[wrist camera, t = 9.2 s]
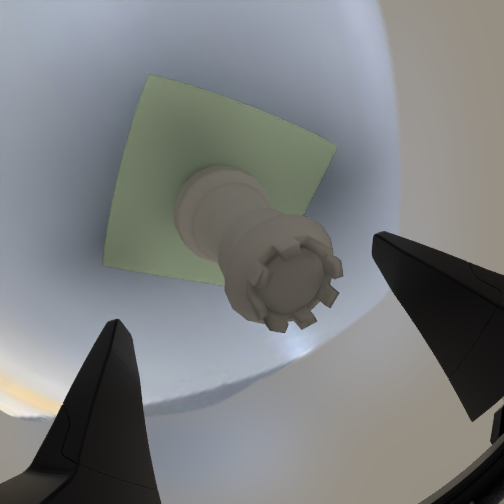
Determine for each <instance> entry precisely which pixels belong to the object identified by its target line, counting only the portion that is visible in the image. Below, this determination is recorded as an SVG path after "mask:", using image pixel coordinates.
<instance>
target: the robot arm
mask: <svg viewBox="0 0 504 504" xmlns="http://www.w3.org/2000/svg"><path fill="white" fill-rule="evenodd" d="M372 257H373V259H374V261H375V263H376V264H377V266H378V268H379V269H380V271H381V273H382V275H383V276H384V278H385V280H386V282H387V283H388V285H389V287H390V288H391V290H392V292H393V293H394V295H395V296H396V297H397V299H398V300H399V302H400V303H401V305H402V306H403V307H404V309H405V311H406V312H407V313H408V315H409V316H410V318H411V319H412V321H413V322H414V324H415V325H416V327H417V328H418V330H419V331H420V333H421V334H422V336H423V338H424V339H425V341H426V342H427V344H428V346H429V347H430V349H431V350H432V352H433V354H434V355H435V357H436V359H437V360H438V362H439V364H440V365H441V367H442V369H443V370H444V372H445V374H446V375H447V377H448V378H449V381H450V383H451V384H452V386H453V388H454V390H455V392H456V393H457V395H458V397H459V399H460V401H461V403H462V404H463V406H464V408H465V410H466V412H467V414H468V416H469V418H470V420H471V421H472V422H473V421H474V420H476V419H477V418H478V417H479V416H481V415H482V414H483V413H485V412H486V411H487V410H488V409H490V408H491V407H492V406H493V405H494V404H496V403H497V402H498V401H499V400H500V399H502V400H503V402H504V275H502V274H498V273H496V272H493V271H490V270H487V269H485V268H482V267H480V266H477V265H474V264H472V263H470V262H467V261H465V260H462V259H460V258H457V257H454V256H452V255H449V254H447V253H444V252H442V251H439V250H436V249H434V248H431V247H428V246H425V245H423V244H420V243H417V242H414V241H412V240H409V239H406V238H403V237H400V236H397V235H394V234H391V233H389V232H386V231H382V232H379V233H376V234H375V235H374V236H373V244H372ZM490 442H491V444H492V446H491V447H490V448H489V449H488V450H487V451H486V452H484V453H483V454H482V455H481V456H480V457H479V458H478V459H477V460H476V461H474V462H473V463H472V464H471V465H470V466H469V467H468V468H466V469H465V470H464V471H463V472H461V473H460V474H459V475H458V476H456V477H455V478H454V479H453V480H451V481H450V482H449V483H447V484H446V485H445V486H443V487H442V488H441V489H439V490H438V491H436V492H435V493H434V494H432V495H431V496H429V497H428V498H426V499H425V500H423V501H422V502H420V503H419V504H504V404H503V405H502V406H501V407H500V408H499V409H498V410H497V411H496V412H495V414H494V420H493V427H492V433H491V439H490ZM0 504H161V501H160V497H159V492H158V490H157V484H156V480H155V475H154V471H153V466H152V461H151V456H150V450H149V444H148V439H147V432H146V426H145V419H144V411H143V403H142V394H141V385H140V377H139V372H138V367H137V362H136V356H135V351H134V345H133V339H132V336H131V334H130V333H129V331H128V330H127V329H126V327H125V326H124V325H123V323H122V322H121V321H120V320H119V319H115V320H111V321H108V322H107V323H106V325H105V327H104V328H103V330H102V332H101V333H100V335H99V337H98V338H97V340H96V342H95V344H94V345H93V347H92V349H91V351H90V353H89V354H88V356H87V358H86V360H85V362H84V363H83V365H82V367H81V369H80V371H79V373H78V374H77V376H76V378H75V380H74V382H73V384H72V386H71V388H70V390H69V392H68V394H67V396H66V398H65V400H64V402H63V405H62V406H61V408H60V410H59V412H58V414H57V416H56V418H55V420H54V422H53V424H52V426H51V428H50V430H49V432H48V434H47V435H46V438H45V439H44V441H43V443H42V445H41V447H40V448H39V450H38V452H37V454H36V456H35V458H34V460H33V462H32V463H31V465H30V466H29V467H28V468H27V469H26V470H25V471H24V472H23V473H21V474H19V475H17V476H15V477H13V478H11V479H9V480H7V481H5V482H3V483H1V484H0Z"/></svg>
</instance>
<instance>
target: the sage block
mask: <svg viewBox="0 0 504 504" xmlns="http://www.w3.org/2000/svg"><path fill="white" fill-rule="evenodd" d="M337 147H338V146H337V145H335V144H333V143H331V142H329V141H327V140H325V139H323V138H321V137H319V136H317V135H315V134H313V133H311V132H309V131H307V130H305V129H303V128H301V127H299V126H296V125H294V124H292V123H290V122H288V121H285V120H283V119H281V118H278V117H276V116H274V115H271V114H269V113H267V112H264V111H262V110H259V109H257V108H254V107H252V106H249V105H247V104H244V103H241V102H239V101H236V100H233V99H230V98H228V97H225V96H222V95H219V94H216V93H213V92H210V91H207V90H204V89H201V88H198V87H195V86H191V85H188V84H185V83H181V82H178V81H174V80H171V79H167V78H163V77H159V76H155V75H151V74H149V75H148V78H147V81H146V83H145V86H144V89H143V91H142V94H141V97H140V100H139V103H138V106H137V109H136V112H135V115H134V118H133V121H132V124H131V128H130V131H129V134H128V138H127V141H126V145H125V149H124V152H123V156H122V160H121V164H120V168H119V172H118V176H117V181H116V185H115V190H114V195H113V199H112V205H111V210H110V215H109V221H108V227H107V233H106V240H105V247H104V254H103V262H102V266H107V267H113V268H118V269H124V270H129V271H135V272H140V273H146V274H152V275H158V276H164V277H170V278H176V279H182V280H188V281H195V282H201V283H208V284H215V285H221V286H225V279H224V277H223V274H222V272H221V270H220V267H219V265H218V264H217V263H214V262H211V261H208V260H205V259H202V258H199V257H198V256H197V255H195V254H194V253H193V252H192V251H191V250H190V249H189V248H188V247H186V246H185V244H184V242H183V241H182V240H181V238H180V236H179V234H178V231H177V229H176V227H175V224H174V203H175V200H176V198H177V196H178V193H179V191H180V189H181V187H182V185H183V184H184V183H185V182H186V181H187V180H189V179H190V178H191V177H192V176H193V175H194V174H195V173H196V172H198V171H201V170H203V169H206V168H208V167H211V166H213V165H227V166H234V167H237V168H239V169H241V170H243V171H245V172H247V173H249V174H250V175H251V176H254V177H255V178H256V179H257V180H258V182H259V183H260V184H261V185H262V186H263V188H264V189H265V190H266V192H267V193H268V197H269V200H270V204H271V207H272V209H277V210H279V211H281V212H283V213H285V214H302V215H304V213H305V211H306V209H307V207H308V205H309V203H310V201H311V199H312V197H313V195H314V193H315V191H316V189H317V187H318V185H319V184H320V182H321V180H322V178H323V176H324V174H325V172H326V170H327V168H328V166H329V164H330V161H331V159H332V157H333V155H334V153H335V151H336V149H337Z"/></svg>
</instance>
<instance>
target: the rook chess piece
mask: <svg viewBox="0 0 504 504" xmlns="http://www.w3.org/2000/svg"><path fill="white" fill-rule="evenodd" d="M174 224H175V227H176V229H177V231H178V234H179V236H180V238H181V240H182V241H183V242H184V244H185V246H186V247H188V248H189V249H190V250H191V251H192V252H193V253H194V254H195V255H197V256H198V257H199V258H202V259H205V260H208V261H211V262H214V263H217V264H218V265H219V267H220V270H221V272H222V274H223V277H224V279H225V293H226V295H227V297H228V299H229V302H230V304H231V306H232V308H233V309H234V310H235V311H236V312H237V313H239V314H240V315H241V316H243V317H244V318H245V319H246V320H248V321H253V322H258V323H262V324H266V326H267V327H268V329H269V330H270V331H275V332H281V333H285V332H286V330H287V327H288V323H287V322H288V321H294V322H295V323H296V324H297V325H298V326H299V327H300V329H301V330H302V329H304V328H306V327H308V326H310V325H311V324H313V323H315V322H317V320H316V318H315V316H314V314H313V313H312V312H311V310H312V309H313V308H314V307H315V306H316V305H317V304H318V303H319V302H320V301H321V302H322V303H323V304H324V305H326V306H327V307H329V308H331V306H332V305H333V303H334V301H335V300H336V298H337V296H338V294H339V292H338V291H337V290H335V289H334V288H333V287H332V286H331V285H330V282H331V278H333V279H337V278H339V277H342V276H343V270H342V263H341V260H340V259H338V258H337V257H335V256H334V255H333V249H332V243H331V239H330V237H329V236H328V234H327V233H326V231H325V230H324V229H323V227H322V226H321V224H320V223H318V222H316V221H314V220H312V219H310V218H308V217H306V216H304V215H302V214H285V213H283V212H281V211H279V210H277V209H272V207H271V204H270V200H269V197H268V193H267V192H266V190H265V189H264V188H263V186H262V185H261V184H260V183H259V182H258V180H257V179H256V178H255V177H254V176H251V175H250V174H249V173H247V172H245V171H243V170H241V169H239V168H237V167H234V166H227V165H213V166H211V167H208V168H206V169H203V170H201V171H198V172H196V173H195V174H194V175H193V176H192V177H191V178H190V179H189V180H187V181H186V182H185V183H184V184H183V185H182V187H181V189H180V191H179V193H178V196H177V198H176V200H175V203H174Z"/></svg>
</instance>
